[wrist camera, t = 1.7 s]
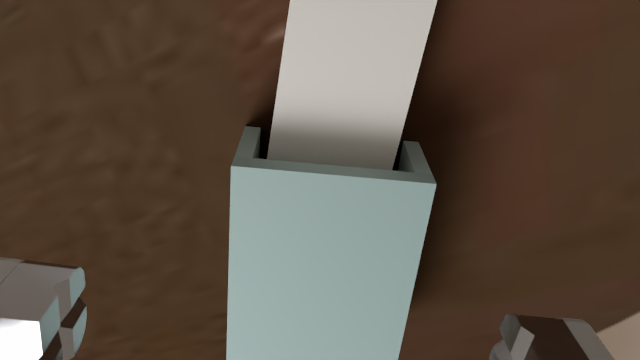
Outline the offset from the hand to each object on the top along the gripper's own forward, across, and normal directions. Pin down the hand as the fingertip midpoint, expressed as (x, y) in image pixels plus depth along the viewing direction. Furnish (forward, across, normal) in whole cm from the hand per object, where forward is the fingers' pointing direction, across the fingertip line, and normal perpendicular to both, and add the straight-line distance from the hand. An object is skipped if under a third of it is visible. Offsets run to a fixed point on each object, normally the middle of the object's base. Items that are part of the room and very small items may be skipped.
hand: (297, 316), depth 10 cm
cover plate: (+18, -2, +2) cm, 18 cm away
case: (+18, -2, +8) cm, 20 cm away
